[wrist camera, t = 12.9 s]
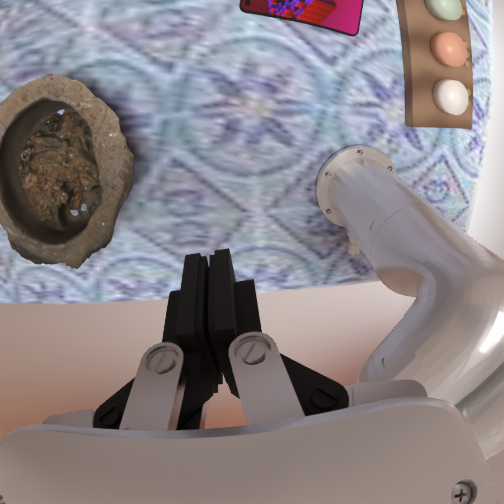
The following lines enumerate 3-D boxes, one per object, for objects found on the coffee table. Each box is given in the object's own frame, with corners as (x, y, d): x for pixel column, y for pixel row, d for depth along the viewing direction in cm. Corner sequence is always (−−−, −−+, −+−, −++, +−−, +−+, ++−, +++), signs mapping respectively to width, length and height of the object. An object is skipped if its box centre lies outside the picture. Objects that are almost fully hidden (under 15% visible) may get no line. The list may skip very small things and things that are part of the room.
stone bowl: (124, 257, 45) (103, 296, 37) (4, 204, 39) (-28, 230, 31) (177, 102, 33) (155, 110, 25) (27, 59, 27) (-16, 64, 19)
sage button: (453, 23, 25) (464, 23, 23) (427, 16, 26) (437, 15, 24) (449, -7, 23) (459, -8, 21) (422, -15, 23) (431, -17, 21)
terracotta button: (457, 67, 29) (467, 69, 27) (431, 63, 29) (442, 64, 27) (455, 35, 27) (465, 36, 25) (428, 29, 27) (439, 29, 25)
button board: (463, 125, 36) (472, 129, 35) (405, 124, 37) (413, 127, 35) (454, -14, 23) (463, -15, 21) (390, -32, 23) (397, -35, 21)
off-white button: (457, 112, 33) (468, 116, 31) (433, 110, 33) (443, 114, 31) (457, 80, 30) (468, 82, 29) (432, 76, 31) (442, 78, 29)
